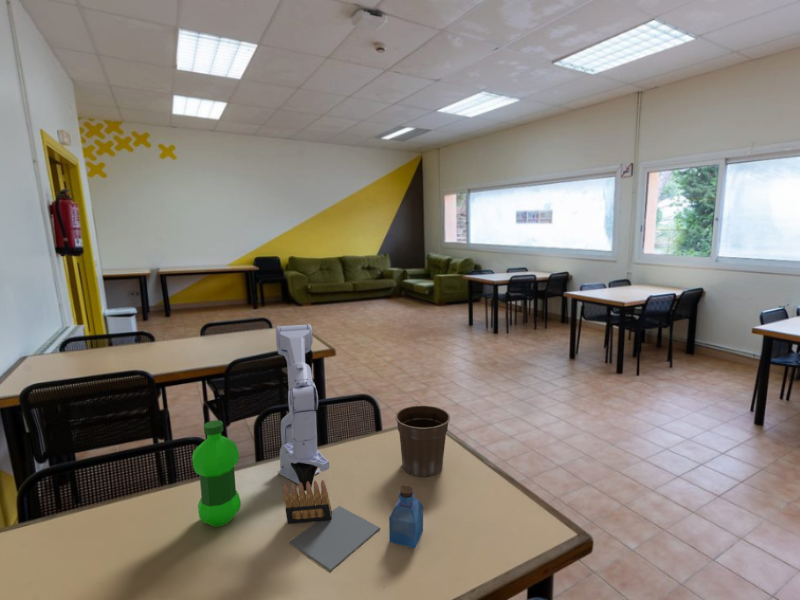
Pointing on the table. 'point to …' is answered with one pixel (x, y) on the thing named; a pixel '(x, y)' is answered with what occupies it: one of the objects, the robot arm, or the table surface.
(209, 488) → the plastic bottle
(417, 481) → the table surface
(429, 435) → the plant pot
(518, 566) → the table surface
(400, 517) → the perfume bottle
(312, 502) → the ammunition clip
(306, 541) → the rubber mat
